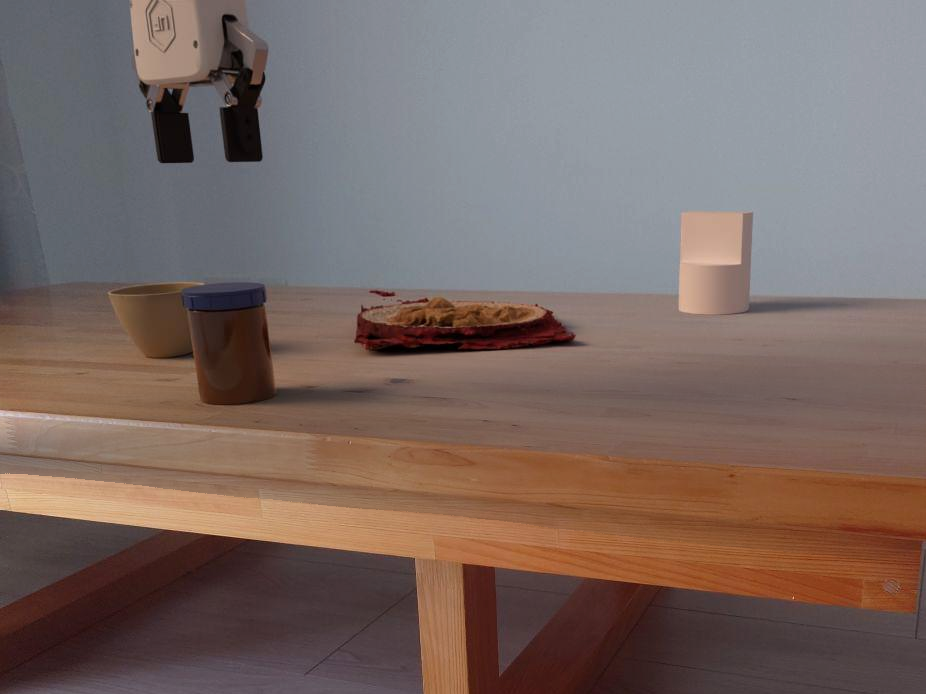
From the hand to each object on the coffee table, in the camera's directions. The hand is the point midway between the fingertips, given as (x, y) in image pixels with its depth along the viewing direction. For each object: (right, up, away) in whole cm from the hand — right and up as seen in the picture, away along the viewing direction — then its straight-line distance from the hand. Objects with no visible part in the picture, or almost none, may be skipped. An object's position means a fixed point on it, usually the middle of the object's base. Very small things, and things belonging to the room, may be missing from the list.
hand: (209, 162), depth 84 cm
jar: (0, -18, +7) cm, 20 cm away
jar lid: (0, -10, +4) cm, 10 cm away
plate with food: (+18, -7, +36) cm, 41 cm away
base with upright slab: (+50, -2, +47) cm, 69 cm away
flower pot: (-14, -11, +28) cm, 33 cm away
